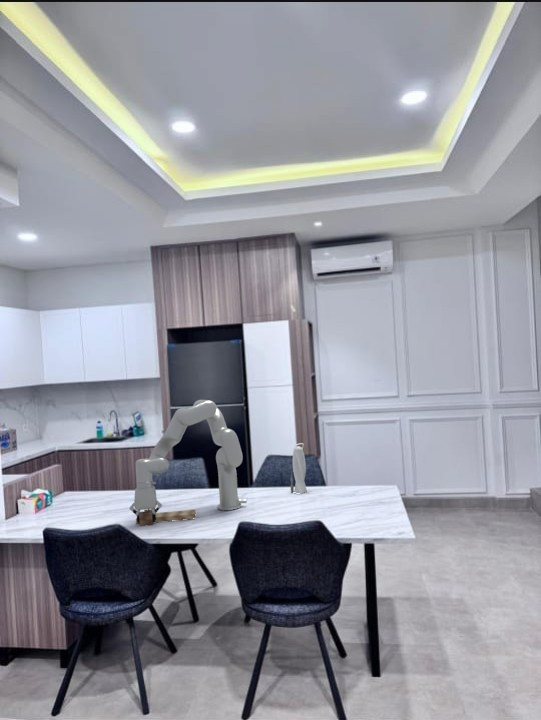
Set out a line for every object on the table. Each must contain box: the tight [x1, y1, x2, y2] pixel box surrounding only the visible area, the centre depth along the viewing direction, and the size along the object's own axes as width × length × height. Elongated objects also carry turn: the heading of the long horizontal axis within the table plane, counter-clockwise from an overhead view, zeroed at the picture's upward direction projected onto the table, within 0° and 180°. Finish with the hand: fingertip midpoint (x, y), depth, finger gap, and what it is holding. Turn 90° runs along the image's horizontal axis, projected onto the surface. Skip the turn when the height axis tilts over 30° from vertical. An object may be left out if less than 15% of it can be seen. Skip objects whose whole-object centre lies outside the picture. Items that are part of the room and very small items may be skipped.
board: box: [135, 509, 196, 525], centre depth 239 cm, size 28×8×2 cm, turn 96°
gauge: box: [139, 509, 154, 527], centre depth 236 cm, size 6×11×7 cm, turn 6°
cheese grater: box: [289, 442, 308, 495], centre depth 278 cm, size 8×8×28 cm
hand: (146, 522), depth 232 cm, fingers closed on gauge, 6 cm apart
